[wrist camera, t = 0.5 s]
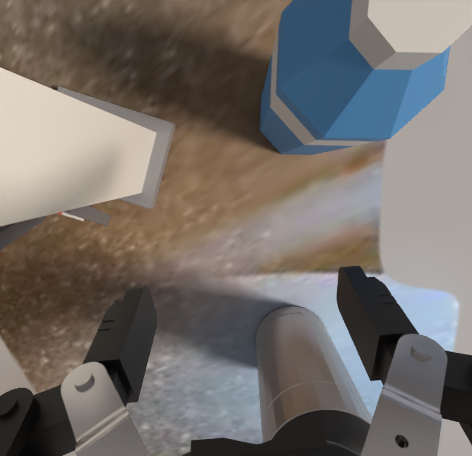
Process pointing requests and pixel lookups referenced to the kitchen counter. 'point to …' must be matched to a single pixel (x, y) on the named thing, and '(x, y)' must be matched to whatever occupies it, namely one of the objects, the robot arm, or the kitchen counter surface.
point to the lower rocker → (88, 215)
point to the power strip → (74, 151)
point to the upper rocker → (17, 230)
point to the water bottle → (355, 69)
